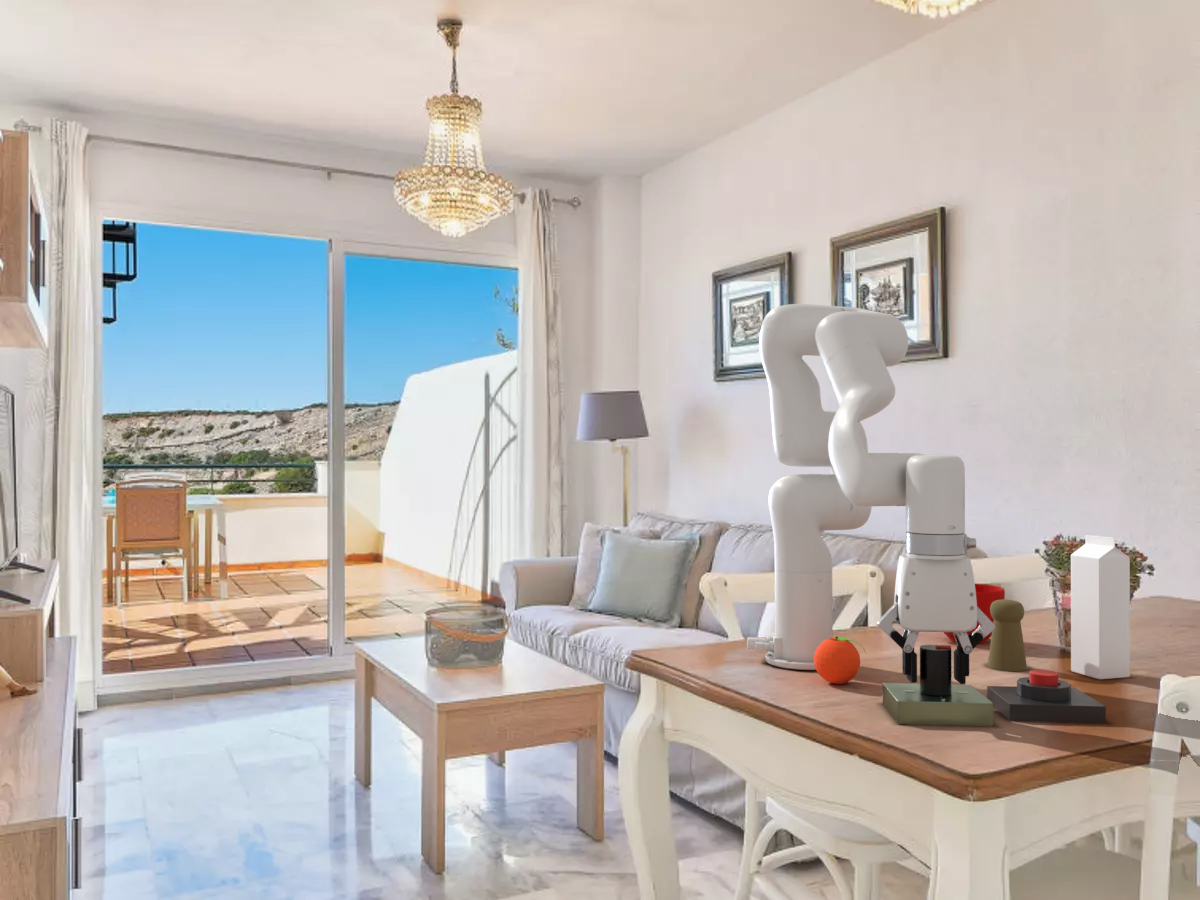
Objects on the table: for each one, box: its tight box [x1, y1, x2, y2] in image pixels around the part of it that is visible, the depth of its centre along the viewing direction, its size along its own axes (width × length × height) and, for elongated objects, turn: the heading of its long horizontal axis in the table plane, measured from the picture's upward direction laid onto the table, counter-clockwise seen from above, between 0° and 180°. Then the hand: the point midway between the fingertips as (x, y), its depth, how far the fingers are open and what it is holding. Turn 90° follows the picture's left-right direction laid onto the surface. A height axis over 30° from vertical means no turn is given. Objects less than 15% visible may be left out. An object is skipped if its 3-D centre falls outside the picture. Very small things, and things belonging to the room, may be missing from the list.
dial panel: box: [882, 682, 994, 727], centre depth 128 cm, size 12×10×3 cm
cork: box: [987, 598, 1028, 672], centre depth 157 cm, size 6×6×11 cm
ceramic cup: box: [943, 583, 1006, 645], centre depth 180 cm, size 13×17×10 cm
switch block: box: [986, 676, 1107, 724], centre depth 129 cm, size 12×10×4 cm
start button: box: [1028, 669, 1059, 686], centre depth 130 cm, size 4×4×2 cm
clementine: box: [814, 636, 867, 685], centre depth 146 cm, size 8×7×7 cm
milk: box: [1070, 534, 1131, 680], centre depth 152 cm, size 6×6×22 cm
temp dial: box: [919, 644, 952, 696], centre depth 128 cm, size 4×4×6 cm
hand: (935, 679), depth 128 cm, fingers open, 5 cm apart
